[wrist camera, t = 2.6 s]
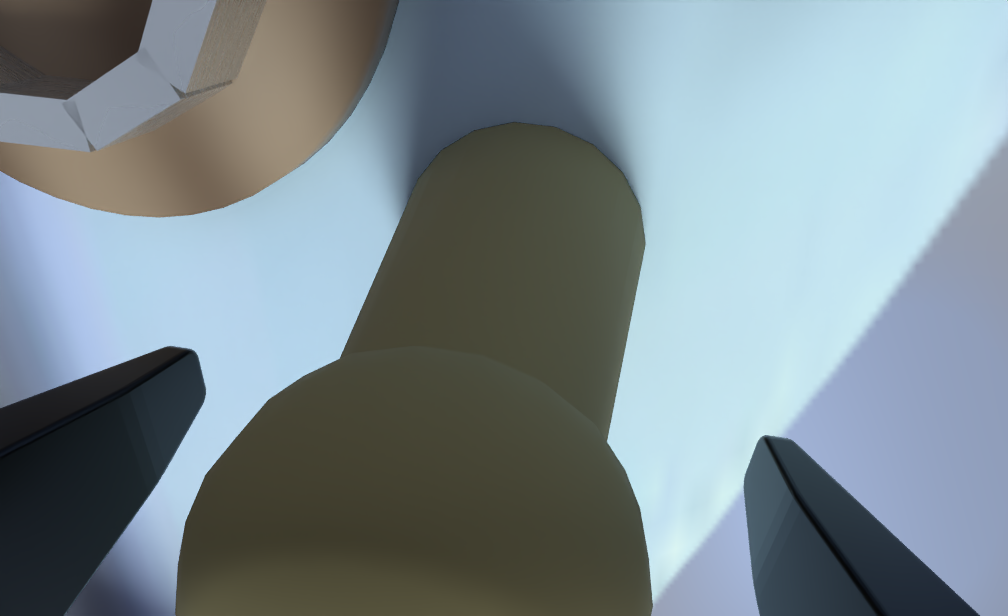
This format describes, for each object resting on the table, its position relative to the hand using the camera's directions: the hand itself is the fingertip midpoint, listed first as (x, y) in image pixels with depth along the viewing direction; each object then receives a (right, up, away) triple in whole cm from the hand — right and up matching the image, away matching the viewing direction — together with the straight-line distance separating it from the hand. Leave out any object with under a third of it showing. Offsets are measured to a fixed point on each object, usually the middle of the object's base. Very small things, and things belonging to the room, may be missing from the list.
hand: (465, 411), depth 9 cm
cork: (+1, +3, +6) cm, 7 cm away
